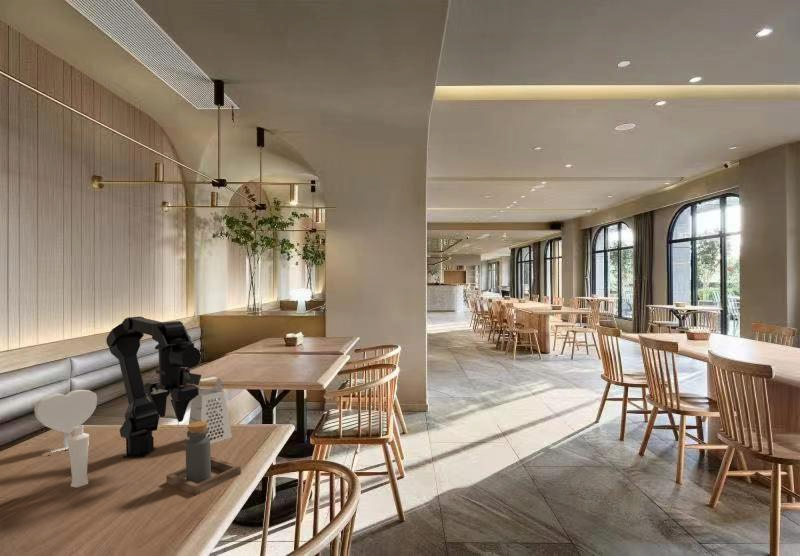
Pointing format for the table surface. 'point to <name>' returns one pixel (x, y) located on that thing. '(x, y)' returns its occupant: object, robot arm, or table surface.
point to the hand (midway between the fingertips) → (171, 419)
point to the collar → (191, 487)
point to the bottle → (198, 453)
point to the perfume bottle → (79, 457)
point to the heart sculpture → (65, 411)
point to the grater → (211, 411)
